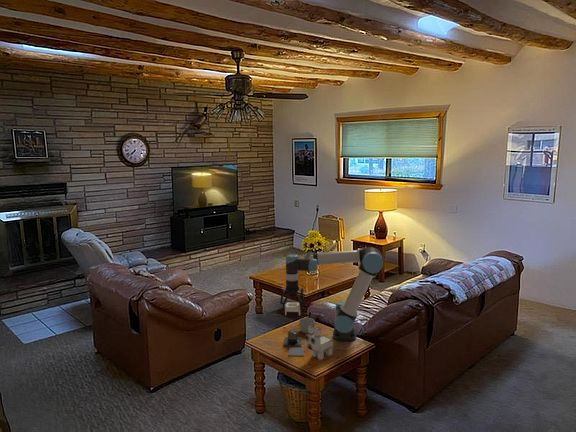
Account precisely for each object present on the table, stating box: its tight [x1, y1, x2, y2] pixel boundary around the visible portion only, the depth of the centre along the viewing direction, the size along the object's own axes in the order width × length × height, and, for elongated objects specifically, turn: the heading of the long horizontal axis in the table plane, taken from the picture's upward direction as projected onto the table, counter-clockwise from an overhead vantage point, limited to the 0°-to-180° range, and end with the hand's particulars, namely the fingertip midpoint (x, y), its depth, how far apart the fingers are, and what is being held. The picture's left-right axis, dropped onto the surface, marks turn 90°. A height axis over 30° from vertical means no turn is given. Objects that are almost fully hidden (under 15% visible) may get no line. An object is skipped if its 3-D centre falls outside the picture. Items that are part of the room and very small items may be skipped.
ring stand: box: [283, 324, 303, 348], centre depth 271 cm, size 11×11×12 cm
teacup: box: [298, 316, 316, 334], centre depth 289 cm, size 14×11×8 cm
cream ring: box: [285, 301, 299, 313], centre depth 268 cm, size 8×8×3 cm
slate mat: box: [288, 347, 305, 357], centre depth 259 cm, size 9×10×1 cm
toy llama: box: [304, 325, 333, 362], centre depth 252 cm, size 8×18×20 cm, turn 131°
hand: (292, 314), depth 268 cm, fingers closed on cream ring, 8 cm apart
